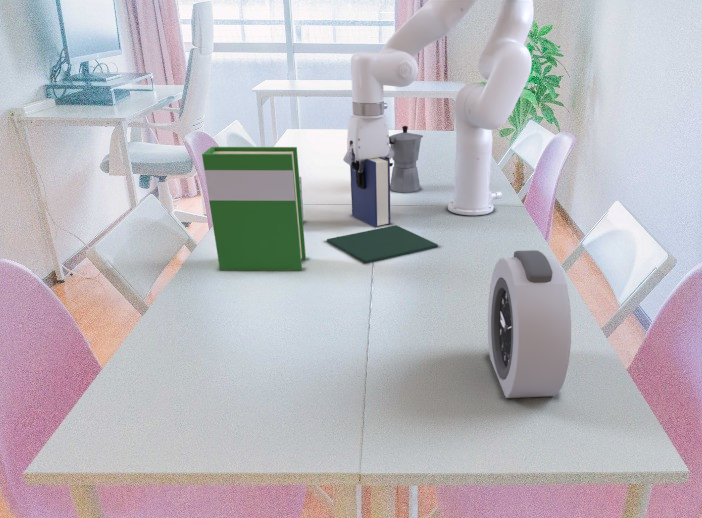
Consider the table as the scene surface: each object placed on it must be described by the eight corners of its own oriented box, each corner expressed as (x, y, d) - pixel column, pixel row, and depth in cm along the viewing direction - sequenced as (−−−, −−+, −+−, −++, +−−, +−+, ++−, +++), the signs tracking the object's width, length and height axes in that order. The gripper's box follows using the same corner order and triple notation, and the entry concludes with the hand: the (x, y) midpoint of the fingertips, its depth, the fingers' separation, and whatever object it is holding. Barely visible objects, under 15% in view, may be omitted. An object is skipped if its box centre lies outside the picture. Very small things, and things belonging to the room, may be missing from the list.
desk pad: (396, 227, 169) (396, 225, 169) (437, 246, 157) (437, 244, 156) (326, 241, 160) (326, 239, 159) (365, 263, 147) (365, 260, 147)
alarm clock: (485, 345, 114) (493, 232, 103) (527, 343, 114) (540, 231, 104) (511, 413, 96) (525, 284, 85) (562, 410, 96) (581, 282, 86)
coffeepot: (411, 182, 208) (412, 121, 198) (431, 188, 202) (432, 125, 192) (372, 190, 200) (371, 126, 190) (391, 197, 194) (391, 131, 184)
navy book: (366, 213, 180) (364, 151, 171) (390, 224, 172) (389, 160, 163) (352, 215, 178) (349, 153, 169) (375, 227, 169) (374, 162, 161)
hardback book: (305, 258, 150) (296, 147, 137) (301, 270, 143) (291, 154, 131) (227, 258, 150) (211, 146, 137) (219, 270, 143) (202, 154, 131)
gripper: (389, 104, 167) (389, 179, 177) (329, 110, 159) (334, 187, 169) (405, 108, 162) (405, 184, 171) (345, 115, 154) (348, 194, 163)
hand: (370, 185), depth 170 cm, fingers closed on navy book, 4 cm apart
